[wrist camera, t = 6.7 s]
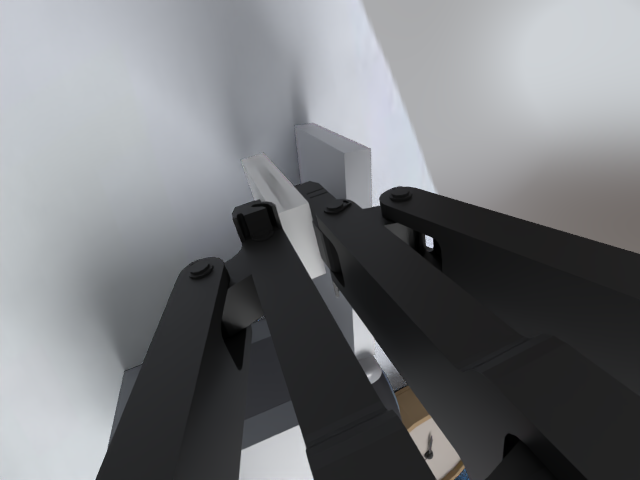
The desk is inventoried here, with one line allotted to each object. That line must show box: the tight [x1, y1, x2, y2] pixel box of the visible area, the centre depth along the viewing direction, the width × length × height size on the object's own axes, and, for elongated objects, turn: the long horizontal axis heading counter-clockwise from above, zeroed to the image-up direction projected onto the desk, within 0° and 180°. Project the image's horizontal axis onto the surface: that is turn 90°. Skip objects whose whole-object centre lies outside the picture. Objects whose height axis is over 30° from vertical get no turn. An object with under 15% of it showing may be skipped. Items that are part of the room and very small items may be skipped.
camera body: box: [107, 318, 402, 480], centre depth 21 cm, size 14×9×9 cm, turn 102°
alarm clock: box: [395, 386, 465, 480], centre depth 31 cm, size 11×5×15 cm
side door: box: [294, 123, 382, 384], centre depth 18 cm, size 11×2×8 cm, turn 5°
